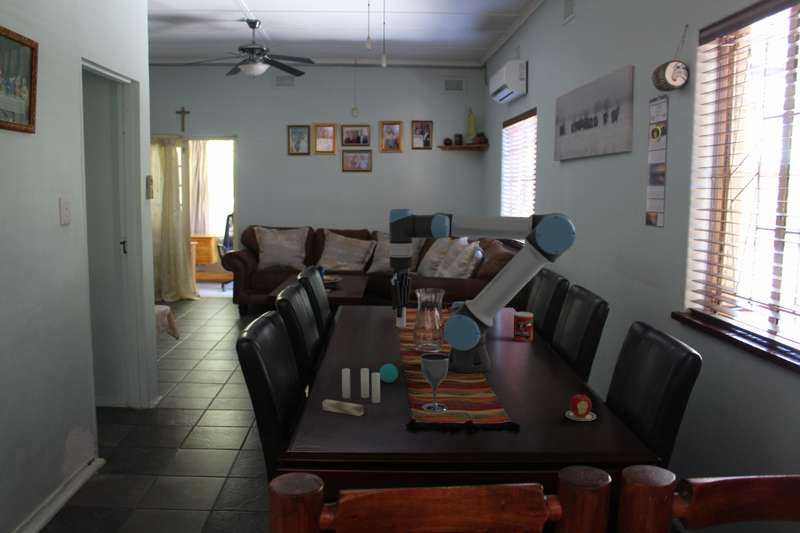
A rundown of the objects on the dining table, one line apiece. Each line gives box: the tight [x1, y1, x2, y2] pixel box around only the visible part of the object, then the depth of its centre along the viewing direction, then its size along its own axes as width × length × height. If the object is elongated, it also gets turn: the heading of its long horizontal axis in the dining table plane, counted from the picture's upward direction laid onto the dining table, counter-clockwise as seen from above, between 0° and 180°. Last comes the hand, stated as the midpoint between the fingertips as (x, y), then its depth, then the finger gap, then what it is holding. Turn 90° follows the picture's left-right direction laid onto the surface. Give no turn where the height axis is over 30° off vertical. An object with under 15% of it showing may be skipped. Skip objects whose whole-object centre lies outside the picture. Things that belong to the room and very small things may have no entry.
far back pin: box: [341, 367, 351, 399], centre depth 194 cm, size 2×2×8 cm
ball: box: [378, 363, 399, 383], centre depth 209 cm, size 6×6×6 cm
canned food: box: [513, 311, 534, 343], centre depth 264 cm, size 8×8×11 cm
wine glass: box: [420, 352, 449, 413], centre depth 184 cm, size 8×8×15 cm
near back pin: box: [371, 371, 381, 404], centre depth 190 cm, size 2×2×8 cm
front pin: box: [360, 367, 370, 399], centre depth 194 cm, size 2×2×8 cm
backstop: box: [322, 399, 364, 417], centre depth 182 cm, size 12×2×2 cm, turn 65°
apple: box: [565, 393, 597, 422], centre depth 177 cm, size 8×8×6 cm
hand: (401, 326), depth 216 cm, fingers closed
